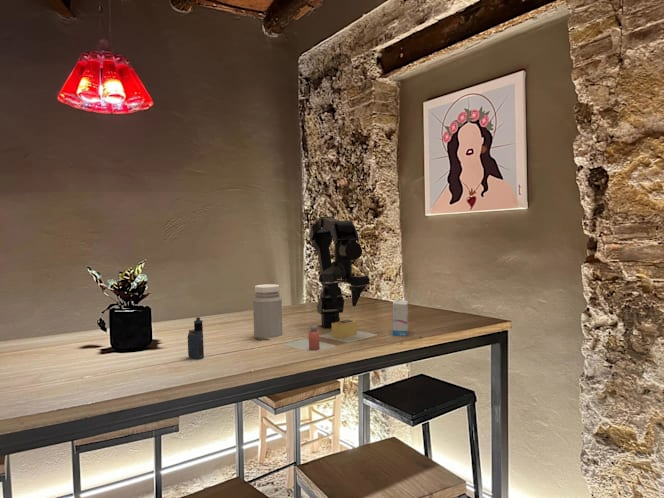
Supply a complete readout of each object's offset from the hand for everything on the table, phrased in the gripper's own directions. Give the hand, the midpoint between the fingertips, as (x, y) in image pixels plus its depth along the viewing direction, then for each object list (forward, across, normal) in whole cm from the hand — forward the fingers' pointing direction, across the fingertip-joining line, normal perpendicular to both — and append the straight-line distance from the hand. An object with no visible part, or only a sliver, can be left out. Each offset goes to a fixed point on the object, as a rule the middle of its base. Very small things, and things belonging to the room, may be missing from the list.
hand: (344, 304), depth 161 cm
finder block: (+10, 0, 0) cm, 10 cm away
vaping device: (+12, -16, -46) cm, 50 cm away
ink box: (+12, +12, +15) cm, 22 cm away
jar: (+12, -21, -16) cm, 29 cm away
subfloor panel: (+11, +1, -7) cm, 13 cm away
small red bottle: (+10, +6, -19) cm, 23 cm away
